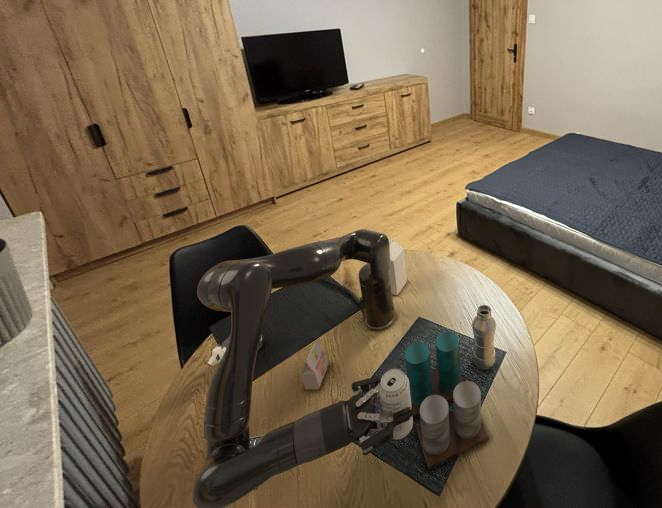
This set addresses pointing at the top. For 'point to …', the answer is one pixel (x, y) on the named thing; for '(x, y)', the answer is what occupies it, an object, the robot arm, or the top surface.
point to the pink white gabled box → (314, 368)
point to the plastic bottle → (484, 338)
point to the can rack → (436, 381)
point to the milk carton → (397, 267)
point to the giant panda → (222, 352)
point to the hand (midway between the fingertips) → (407, 396)
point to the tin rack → (451, 424)
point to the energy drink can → (396, 399)
